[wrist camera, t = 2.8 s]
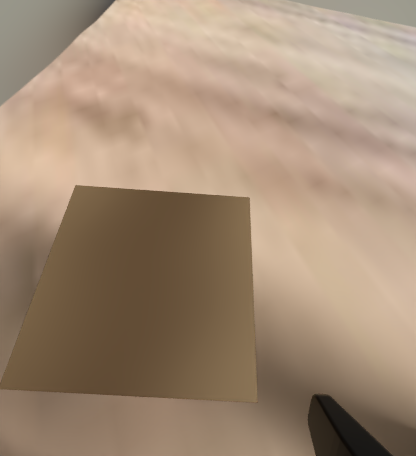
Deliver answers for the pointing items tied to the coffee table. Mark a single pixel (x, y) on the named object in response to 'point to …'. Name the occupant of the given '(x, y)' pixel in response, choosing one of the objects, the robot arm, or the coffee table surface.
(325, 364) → the coffee table surface
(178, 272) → the post
